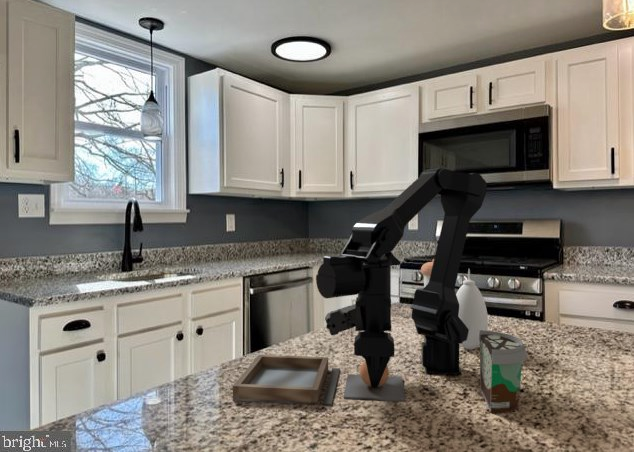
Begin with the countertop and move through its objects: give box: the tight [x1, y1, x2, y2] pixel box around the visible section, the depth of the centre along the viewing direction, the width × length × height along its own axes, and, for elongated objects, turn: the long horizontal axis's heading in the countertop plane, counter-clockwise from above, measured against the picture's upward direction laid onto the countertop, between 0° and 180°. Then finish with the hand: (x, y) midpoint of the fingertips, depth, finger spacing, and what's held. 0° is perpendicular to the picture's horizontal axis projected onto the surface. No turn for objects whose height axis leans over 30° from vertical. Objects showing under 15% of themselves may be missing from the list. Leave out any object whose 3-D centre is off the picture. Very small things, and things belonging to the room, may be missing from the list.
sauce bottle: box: [456, 269, 489, 351], centre depth 98 cm, size 8×8×18 cm
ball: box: [359, 360, 390, 387], centre depth 76 cm, size 5×5×5 cm
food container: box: [479, 330, 528, 414], centre depth 70 cm, size 12×6×10 cm, turn 168°
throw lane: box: [232, 354, 406, 407], centre depth 78 cm, size 28×16×2 cm, turn 82°
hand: (374, 380), depth 76 cm, fingers closed on ball, 5 cm apart
